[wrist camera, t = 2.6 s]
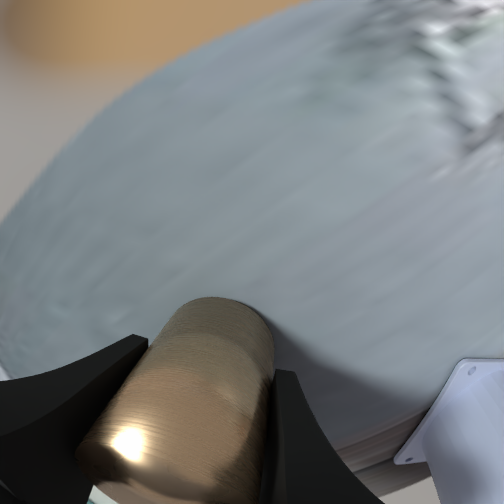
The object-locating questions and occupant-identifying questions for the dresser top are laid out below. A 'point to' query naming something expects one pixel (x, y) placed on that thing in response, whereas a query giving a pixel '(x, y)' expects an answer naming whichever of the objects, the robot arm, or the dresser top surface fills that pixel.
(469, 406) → the robot arm
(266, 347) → the bronze metal cylinder
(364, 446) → the dresser top surface
